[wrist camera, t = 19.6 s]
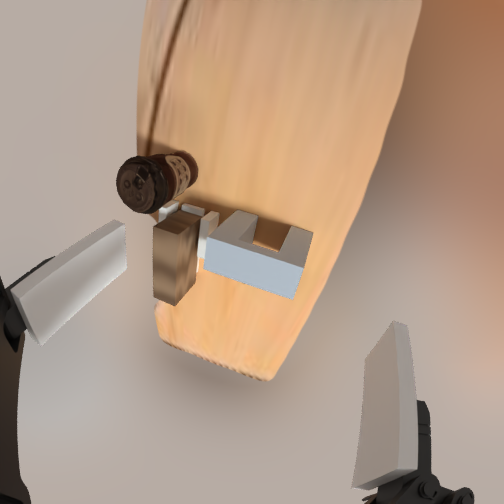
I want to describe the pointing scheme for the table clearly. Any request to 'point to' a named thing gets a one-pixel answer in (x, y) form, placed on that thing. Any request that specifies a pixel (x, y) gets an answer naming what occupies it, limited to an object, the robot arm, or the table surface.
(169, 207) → the cradle
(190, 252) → the walnut bar
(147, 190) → the coffee cup
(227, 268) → the bore block
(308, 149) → the table surface
